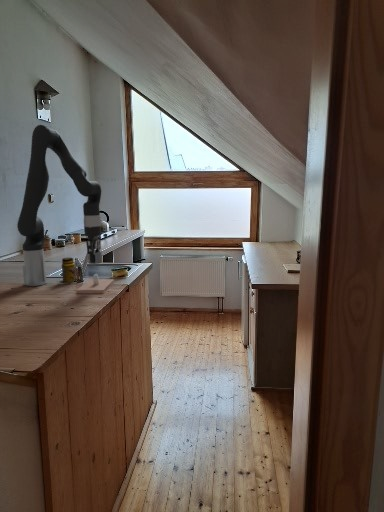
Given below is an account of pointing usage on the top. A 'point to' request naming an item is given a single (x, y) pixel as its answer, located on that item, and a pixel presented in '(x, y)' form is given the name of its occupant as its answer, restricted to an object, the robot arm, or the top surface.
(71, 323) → the top surface
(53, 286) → the top surface
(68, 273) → the condiment
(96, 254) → the hub
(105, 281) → the shaft stand
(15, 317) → the top surface
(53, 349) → the top surface
